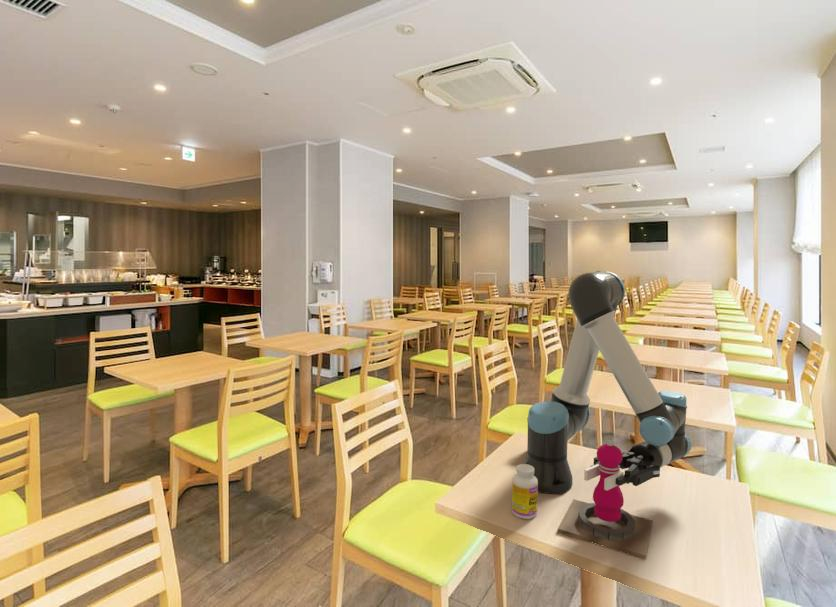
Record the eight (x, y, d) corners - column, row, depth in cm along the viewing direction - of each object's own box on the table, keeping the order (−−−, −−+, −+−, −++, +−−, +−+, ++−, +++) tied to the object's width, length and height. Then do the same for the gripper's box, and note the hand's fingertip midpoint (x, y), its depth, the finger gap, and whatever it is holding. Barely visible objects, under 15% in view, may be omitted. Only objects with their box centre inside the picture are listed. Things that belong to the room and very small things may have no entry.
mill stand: (557, 532, 118) (557, 521, 118) (573, 502, 131) (573, 492, 131) (645, 559, 107) (646, 547, 107) (652, 523, 121) (653, 513, 121)
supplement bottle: (530, 523, 122) (531, 476, 120) (507, 514, 126) (508, 468, 124) (541, 511, 127) (542, 466, 125) (519, 503, 131) (519, 459, 130)
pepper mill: (589, 517, 118) (591, 441, 115) (596, 504, 124) (598, 431, 121) (619, 526, 114) (622, 448, 111) (625, 512, 120) (628, 437, 117)
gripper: (682, 482, 120) (628, 511, 108) (619, 456, 135) (565, 479, 123) (684, 454, 119) (630, 480, 107) (619, 431, 134) (565, 452, 122)
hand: (595, 479), depth 115 cm, fingers closed on pepper mill, 5 cm apart
